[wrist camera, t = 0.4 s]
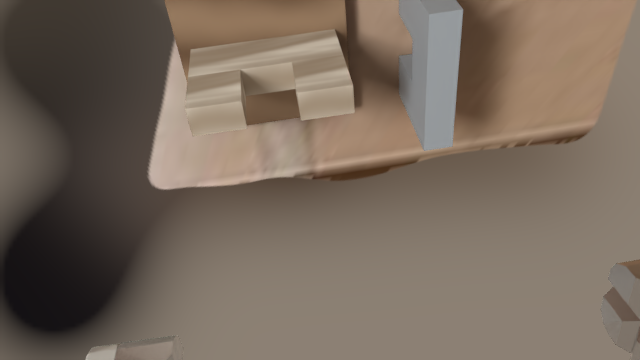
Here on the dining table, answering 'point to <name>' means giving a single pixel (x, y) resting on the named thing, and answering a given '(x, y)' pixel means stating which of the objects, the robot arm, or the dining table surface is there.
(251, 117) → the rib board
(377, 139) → the dining table surface
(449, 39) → the slotted plate
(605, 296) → the robot arm
